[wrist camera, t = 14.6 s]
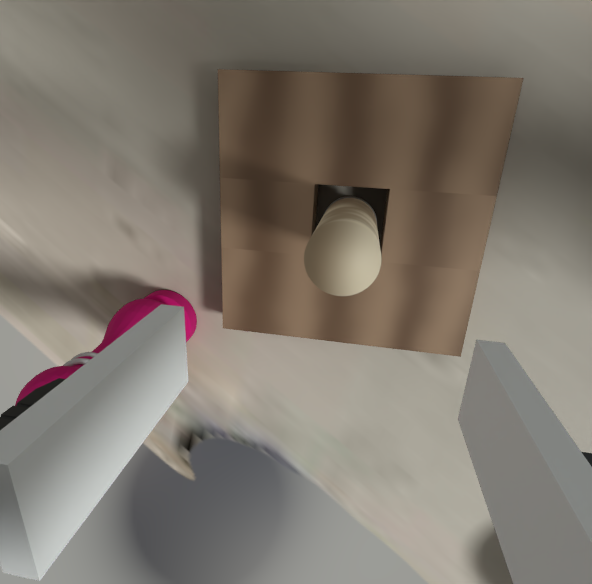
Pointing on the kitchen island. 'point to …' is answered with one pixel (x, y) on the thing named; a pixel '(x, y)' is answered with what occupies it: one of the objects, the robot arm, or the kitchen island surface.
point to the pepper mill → (117, 334)
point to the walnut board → (360, 173)
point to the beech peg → (344, 248)
